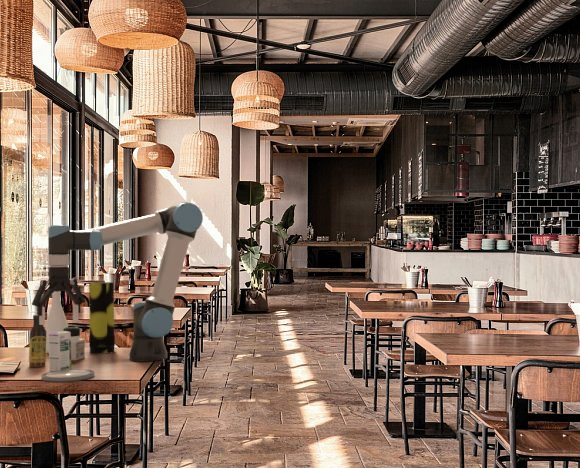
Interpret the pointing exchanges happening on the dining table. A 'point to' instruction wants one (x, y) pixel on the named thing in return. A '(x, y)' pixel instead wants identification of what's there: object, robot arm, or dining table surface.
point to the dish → (67, 375)
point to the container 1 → (76, 343)
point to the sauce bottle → (37, 344)
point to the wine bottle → (55, 318)
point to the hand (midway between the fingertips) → (59, 323)
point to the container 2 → (101, 317)
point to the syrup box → (60, 351)
